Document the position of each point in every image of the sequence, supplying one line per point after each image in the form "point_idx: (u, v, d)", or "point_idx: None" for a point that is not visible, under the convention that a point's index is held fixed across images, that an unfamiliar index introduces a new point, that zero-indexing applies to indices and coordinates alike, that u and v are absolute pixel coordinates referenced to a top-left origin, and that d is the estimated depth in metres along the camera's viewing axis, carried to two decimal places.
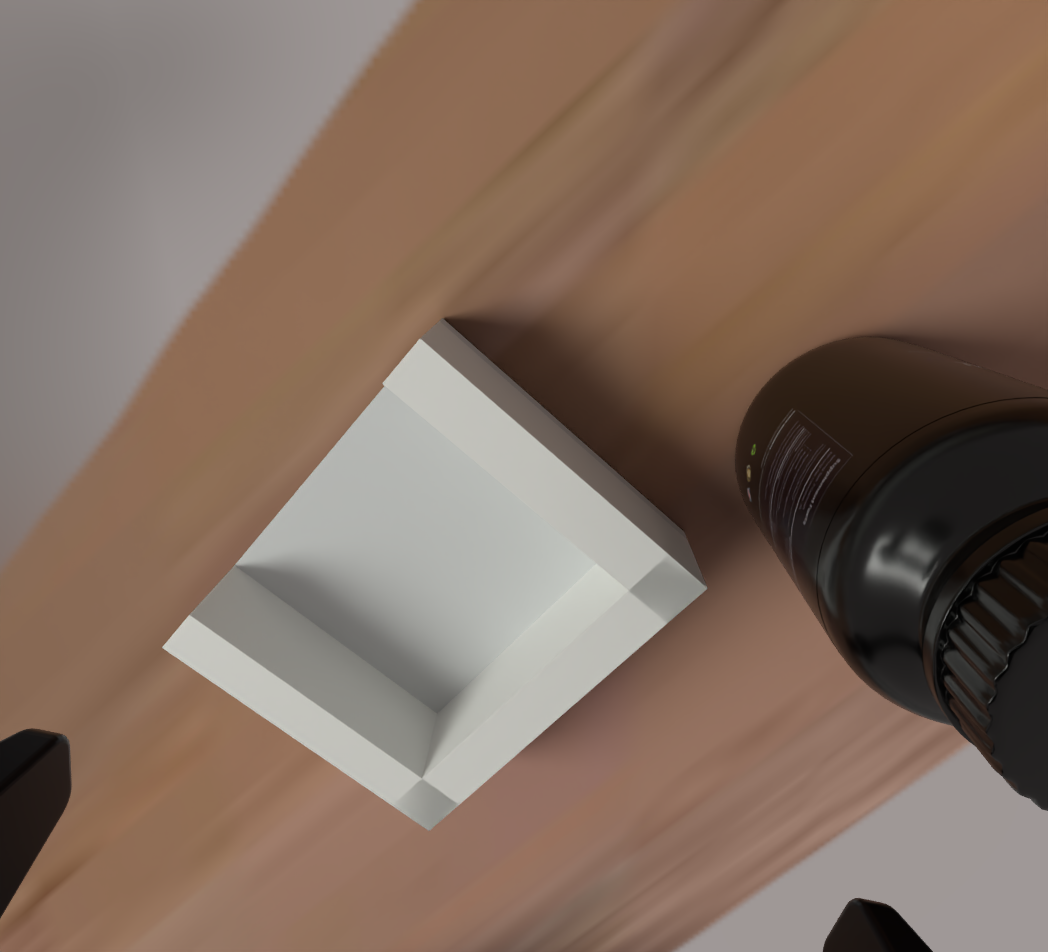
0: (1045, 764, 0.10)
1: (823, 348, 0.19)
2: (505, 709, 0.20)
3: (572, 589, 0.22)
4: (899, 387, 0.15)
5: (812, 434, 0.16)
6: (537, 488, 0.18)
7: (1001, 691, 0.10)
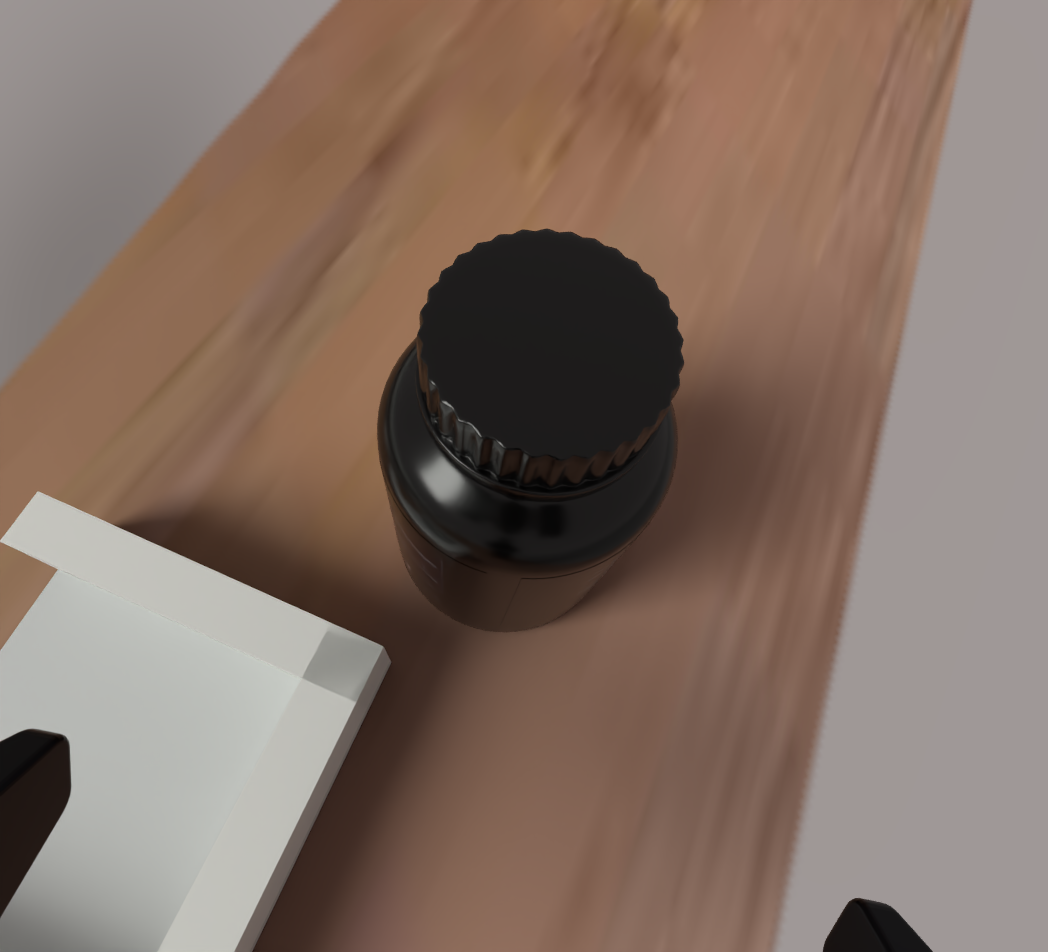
0: (504, 412, 0.12)
1: None
2: (188, 906, 0.15)
3: None
4: None
5: None
6: (176, 596, 0.18)
7: (430, 362, 0.12)
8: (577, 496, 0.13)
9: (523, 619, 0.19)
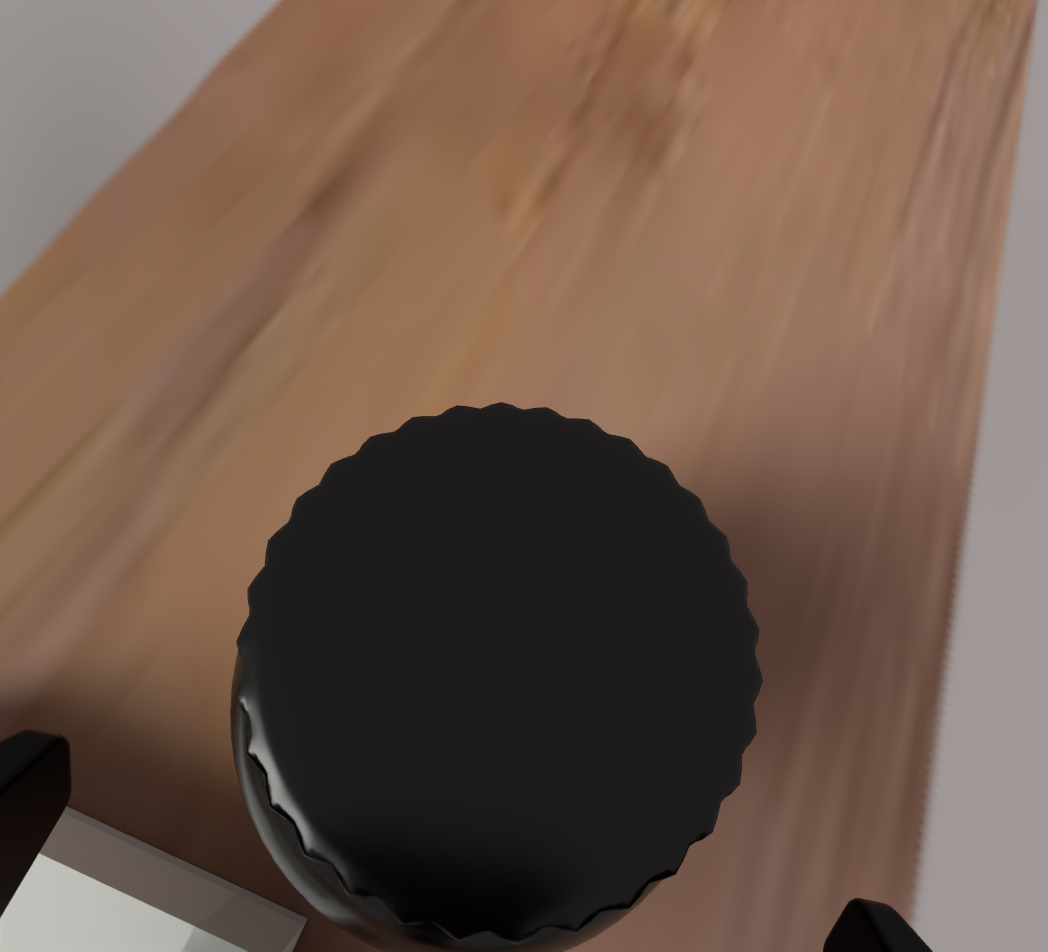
0: (401, 829, 0.06)
1: None
2: None
3: None
4: None
5: None
6: None
7: (255, 713, 0.06)
8: None
9: None
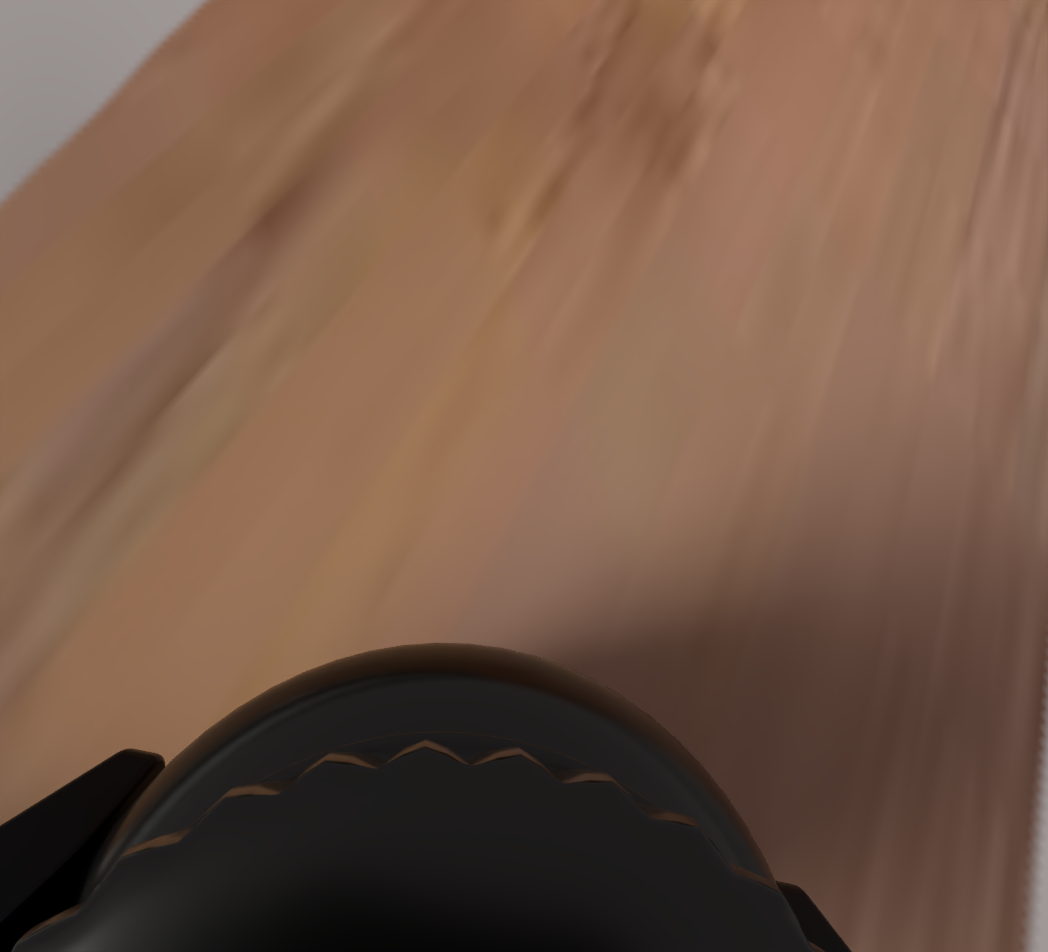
0: None
1: None
2: None
3: None
4: None
5: None
6: None
7: None
8: None
9: None
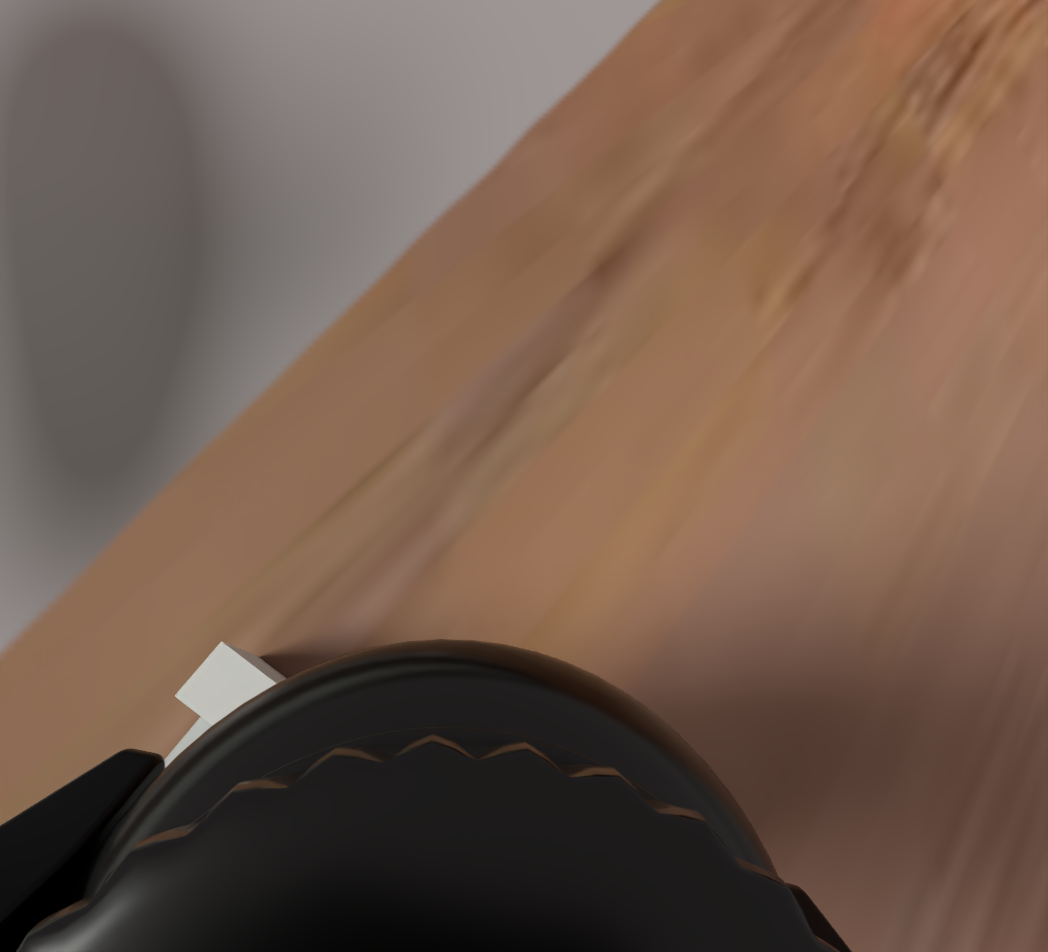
0: None
1: None
2: None
3: None
4: None
5: None
6: None
7: None
8: None
9: None
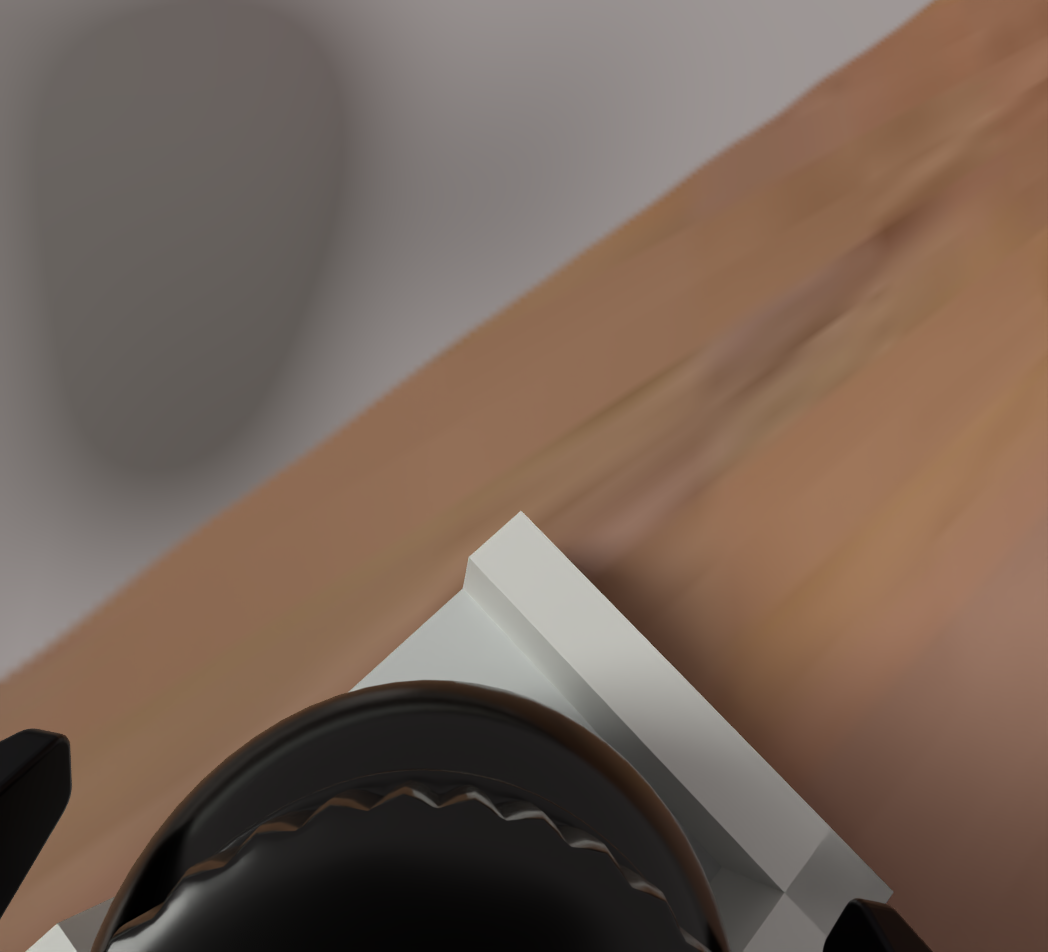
0: None
1: None
2: None
3: None
4: None
5: None
6: (651, 712, 0.14)
7: None
8: None
9: None
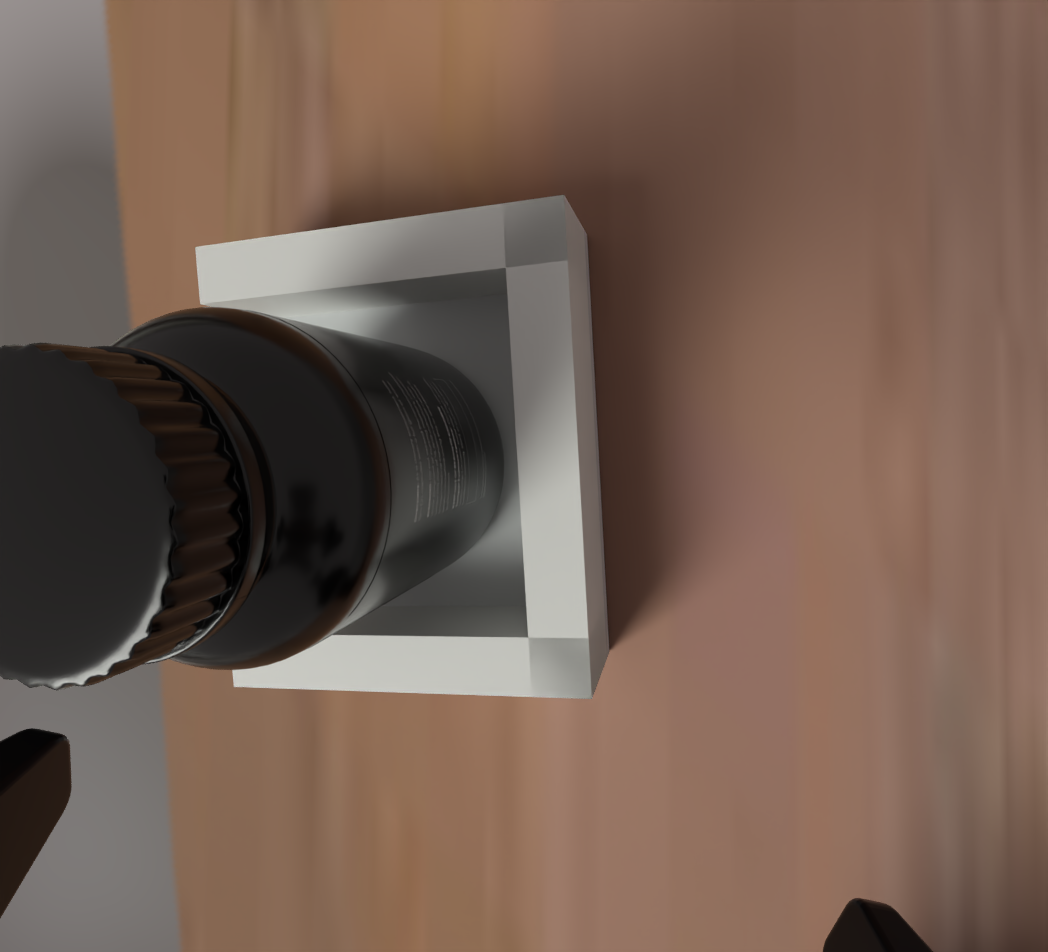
0: (71, 645, 0.09)
1: None
2: (525, 486, 0.17)
3: None
4: None
5: None
6: (358, 263, 0.18)
7: None
8: (249, 582, 0.10)
9: (458, 546, 0.18)
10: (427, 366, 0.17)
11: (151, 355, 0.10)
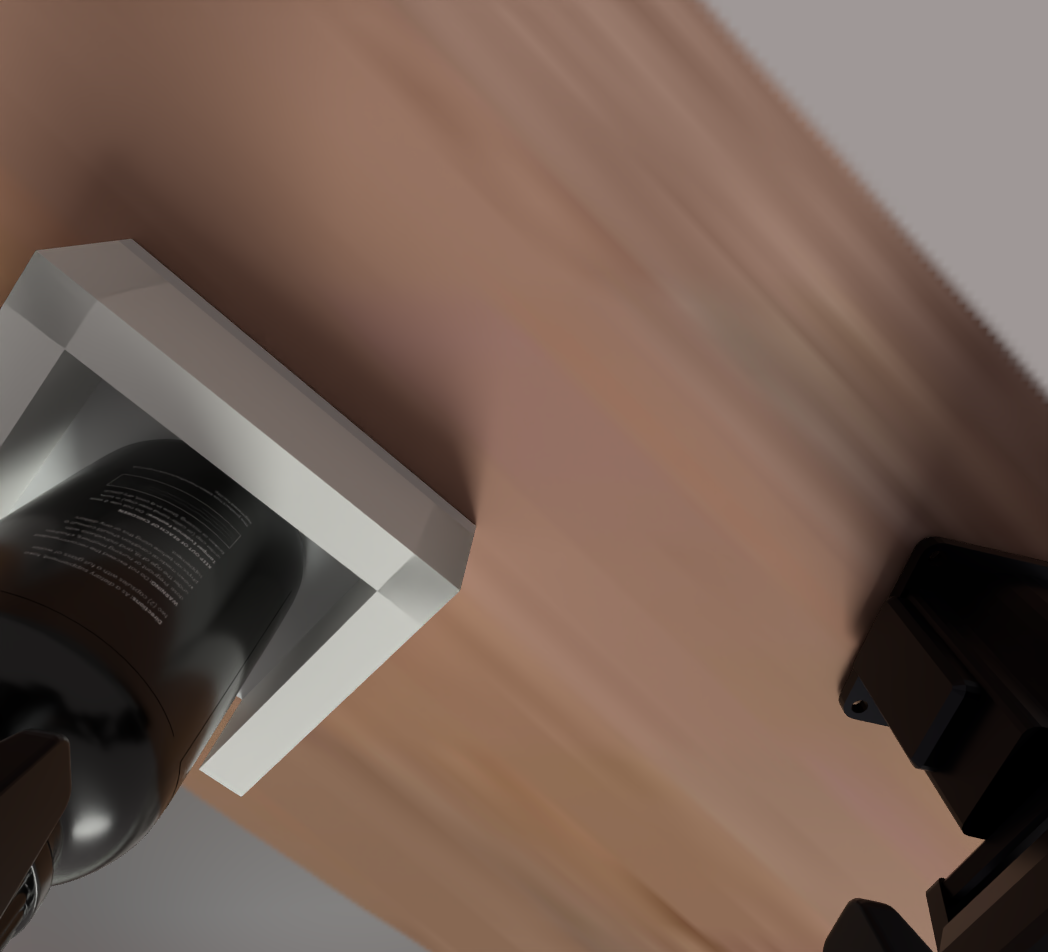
0: None
1: None
2: (259, 493, 0.17)
3: None
4: None
5: None
6: None
7: None
8: None
9: (267, 575, 0.18)
10: (99, 476, 0.17)
11: None
